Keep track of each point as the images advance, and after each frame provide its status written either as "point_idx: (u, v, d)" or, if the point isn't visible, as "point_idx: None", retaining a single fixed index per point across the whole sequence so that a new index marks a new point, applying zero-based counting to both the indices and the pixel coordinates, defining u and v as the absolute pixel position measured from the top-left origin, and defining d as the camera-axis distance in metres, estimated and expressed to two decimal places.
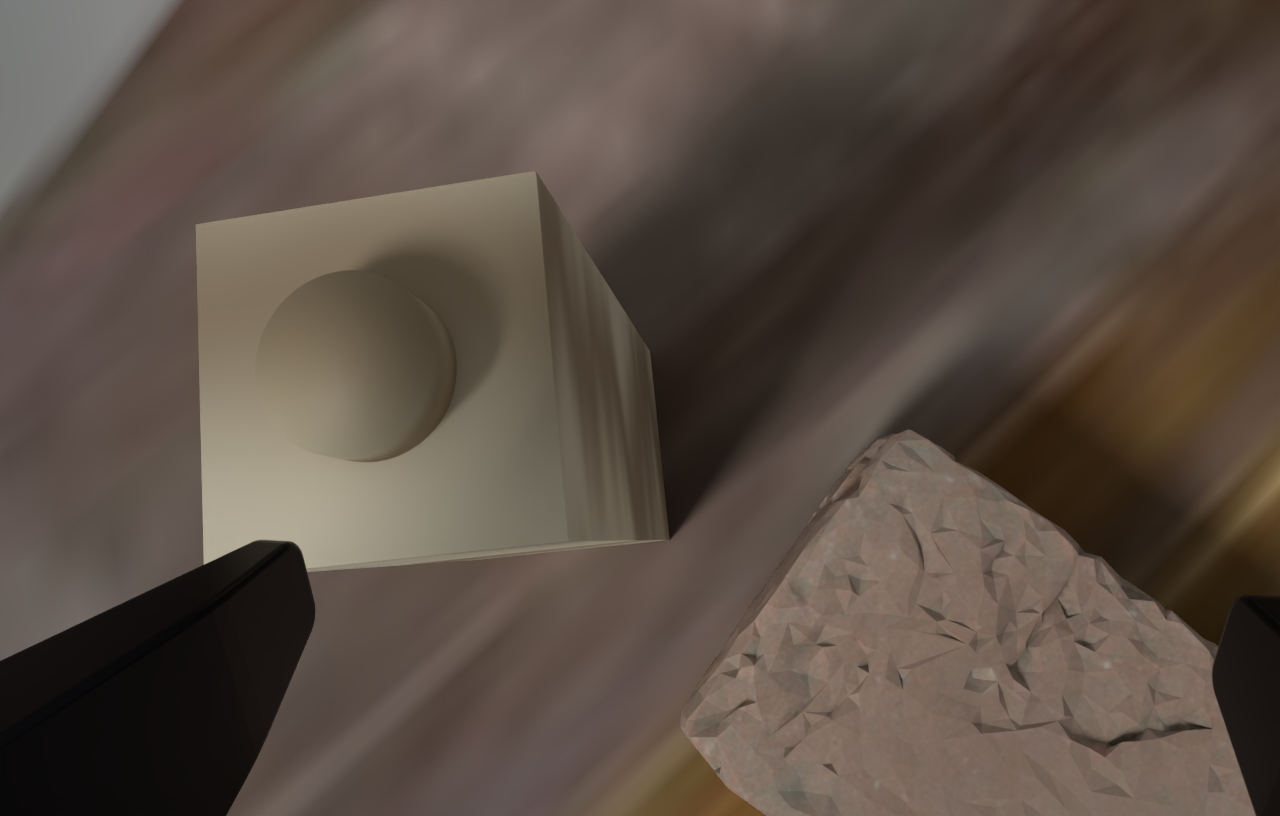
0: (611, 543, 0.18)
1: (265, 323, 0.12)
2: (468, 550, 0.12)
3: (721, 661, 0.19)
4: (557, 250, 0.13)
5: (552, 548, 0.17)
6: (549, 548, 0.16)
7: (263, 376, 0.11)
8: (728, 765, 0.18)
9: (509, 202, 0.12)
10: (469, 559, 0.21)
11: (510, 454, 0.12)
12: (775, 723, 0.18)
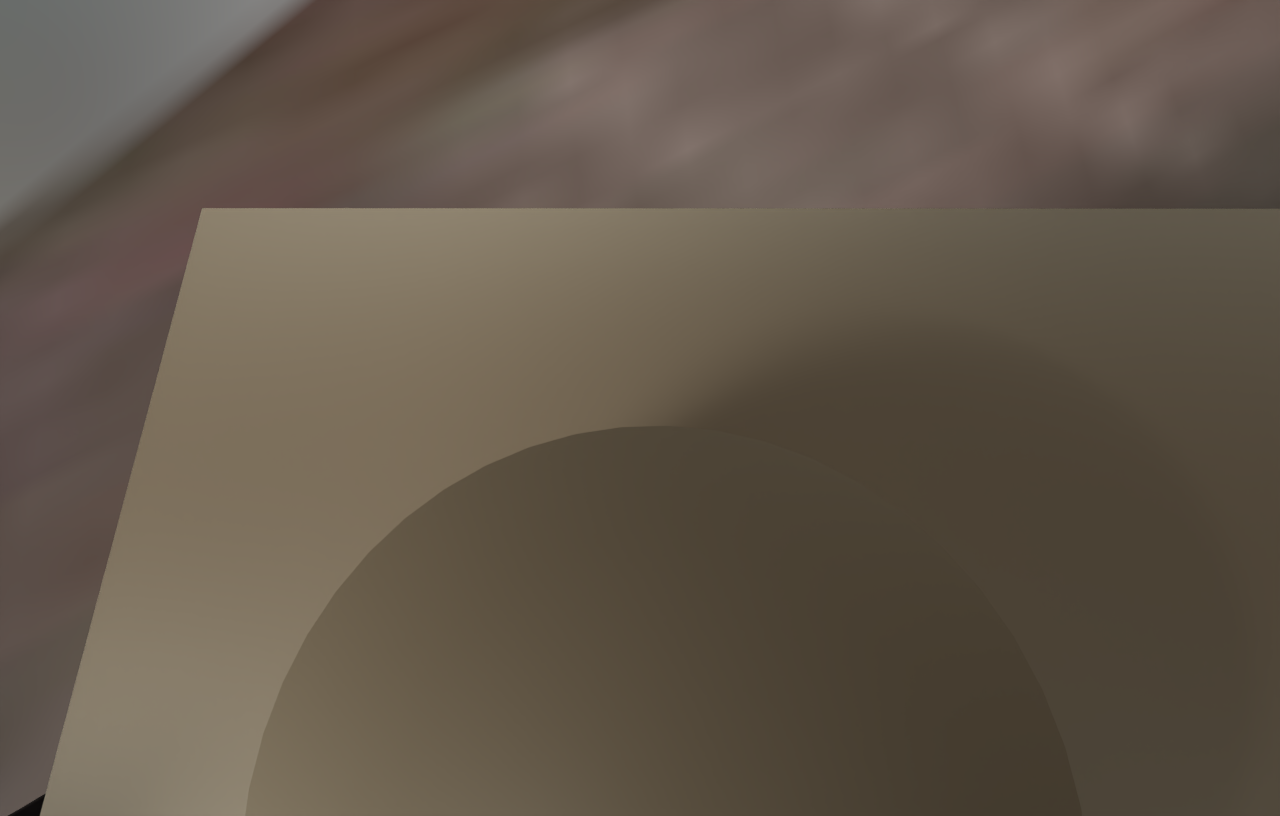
0: None
1: (331, 537, 0.04)
2: None
3: None
4: None
5: None
6: None
7: (280, 807, 0.03)
8: None
9: (1213, 292, 0.04)
10: None
11: None
12: None
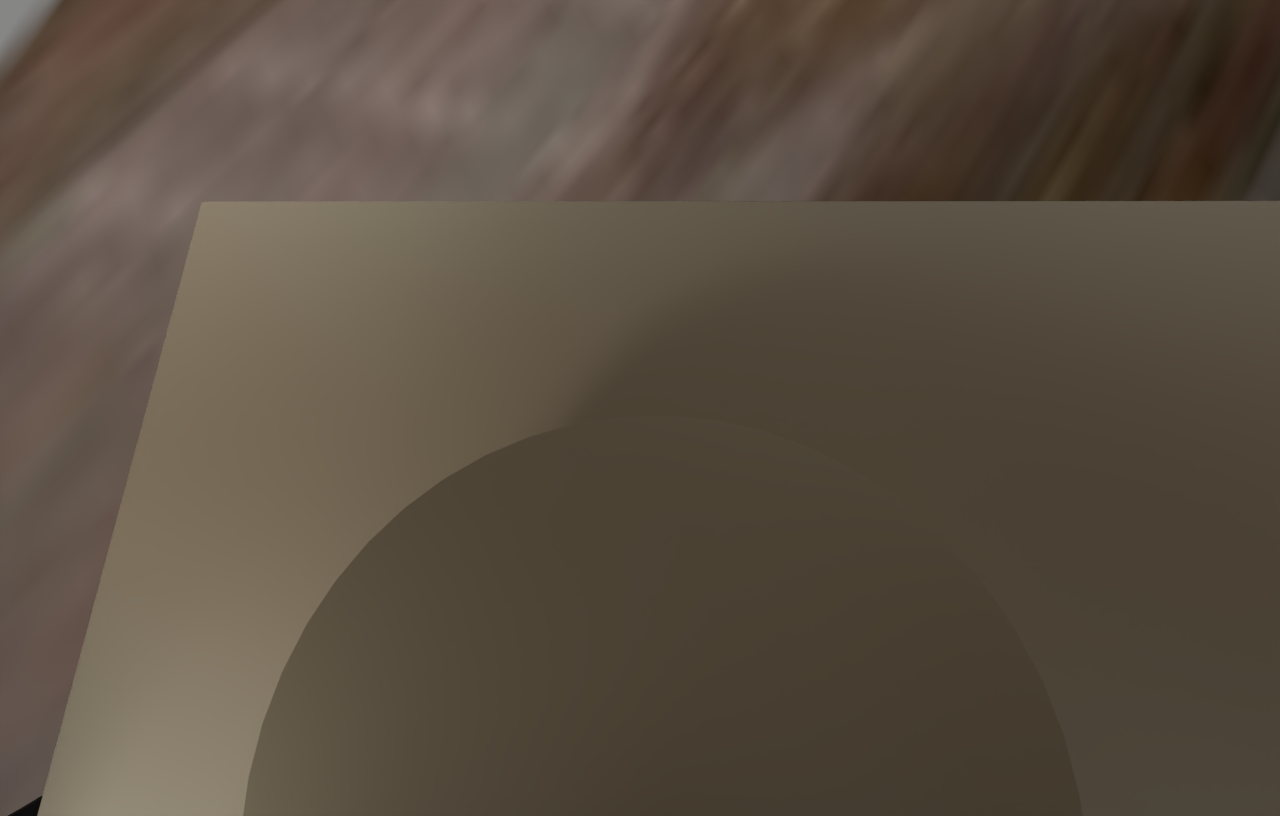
0: None
1: (331, 529, 0.04)
2: None
3: None
4: None
5: None
6: None
7: (278, 799, 0.03)
8: None
9: (1212, 284, 0.04)
10: None
11: None
12: None
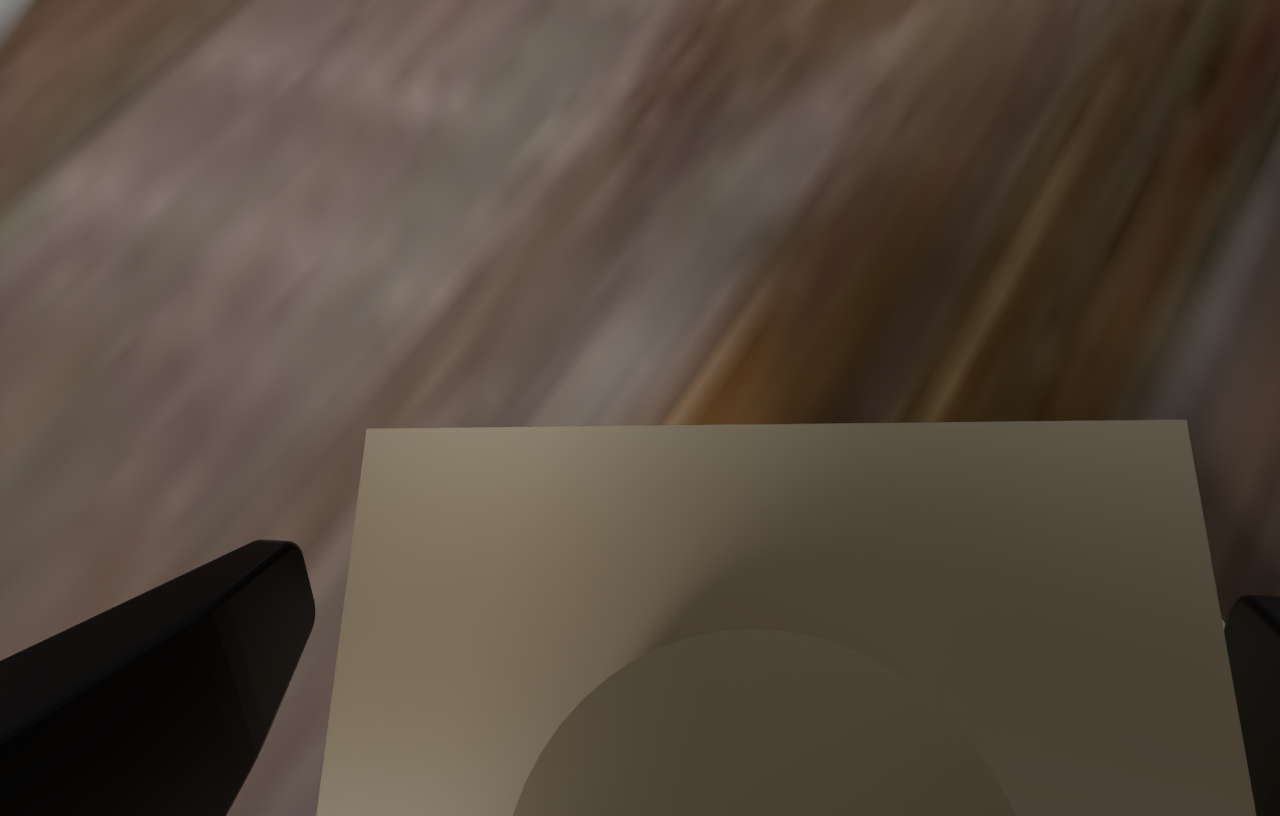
0: None
1: (496, 687, 0.05)
2: None
3: None
4: None
5: None
6: None
7: None
8: None
9: (1122, 484, 0.05)
10: None
11: None
12: None
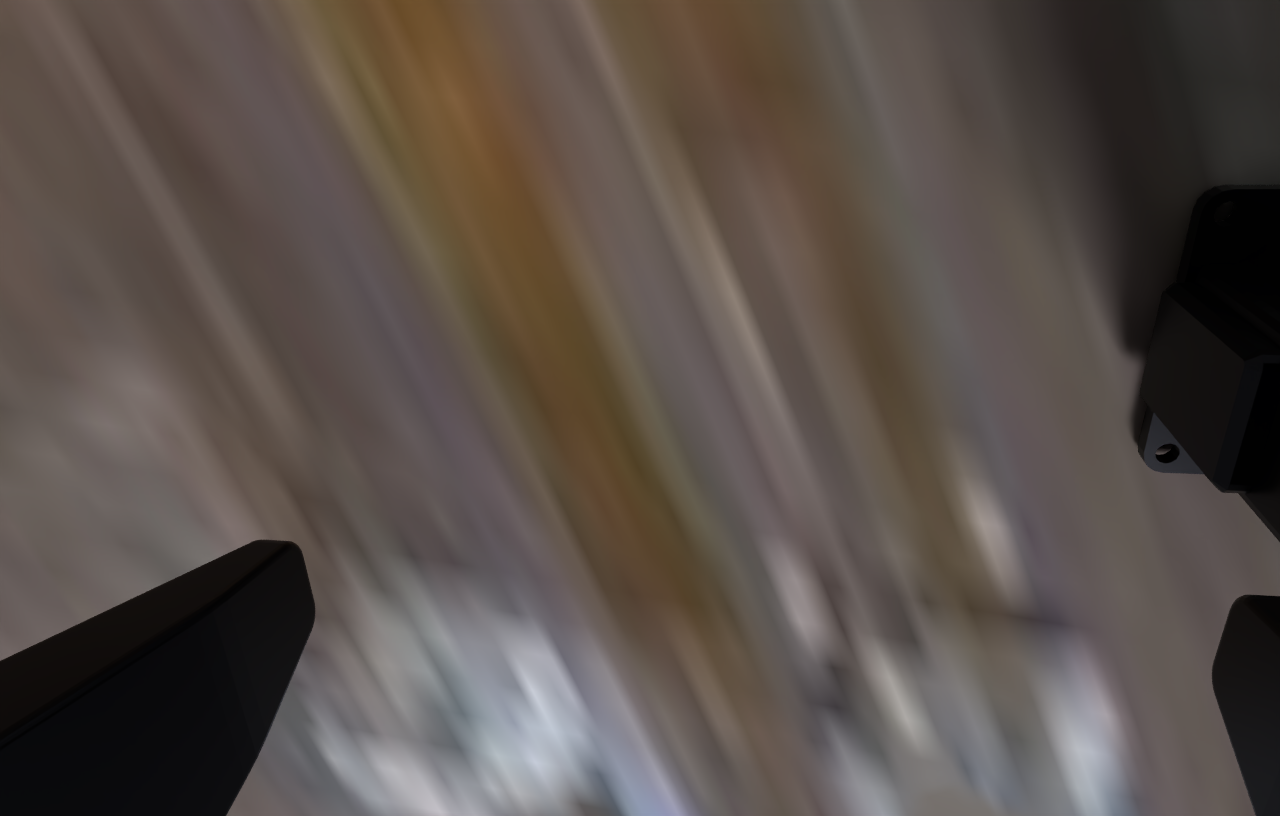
0: None
1: None
2: None
3: None
4: None
5: None
6: None
7: None
8: None
9: None
10: None
11: None
12: None
